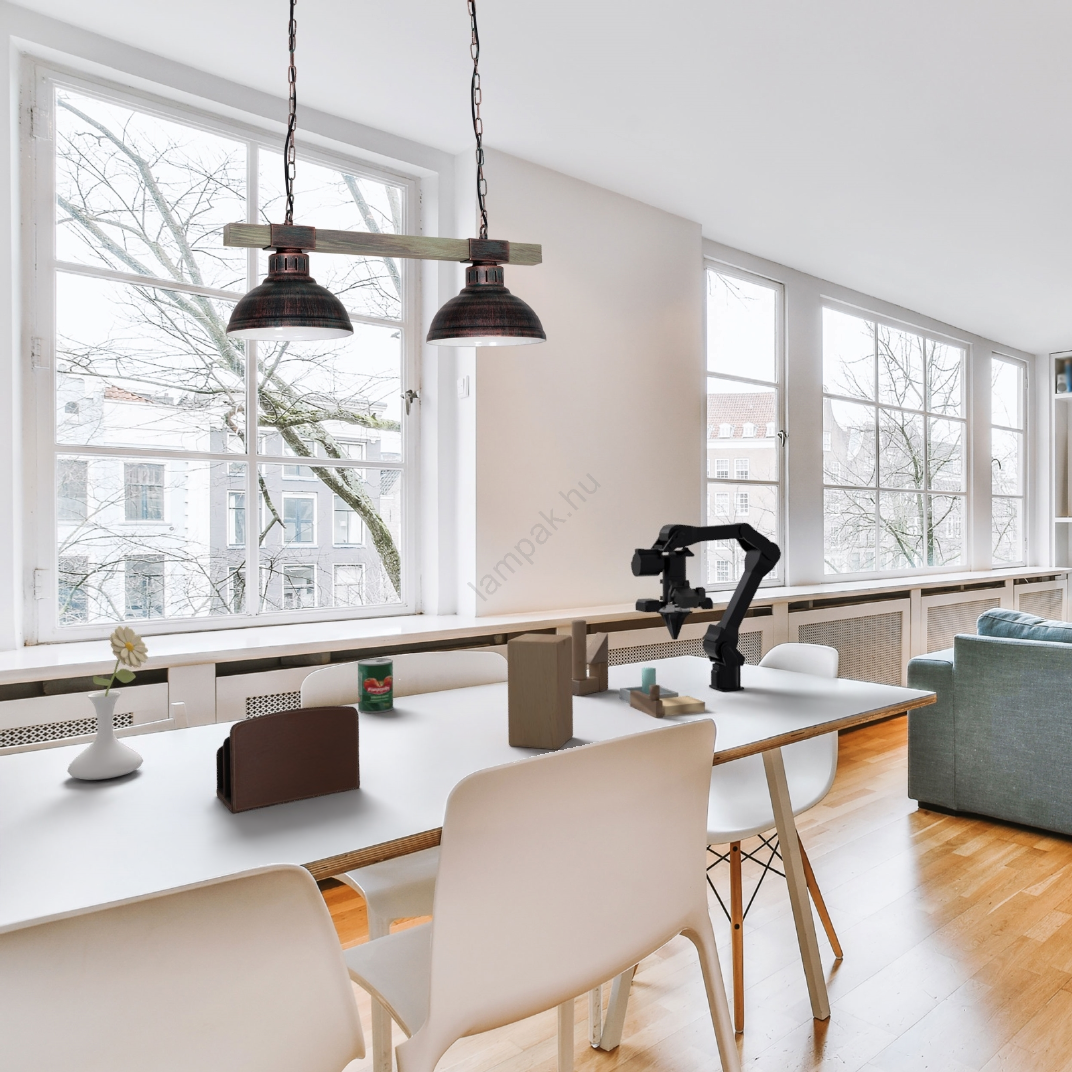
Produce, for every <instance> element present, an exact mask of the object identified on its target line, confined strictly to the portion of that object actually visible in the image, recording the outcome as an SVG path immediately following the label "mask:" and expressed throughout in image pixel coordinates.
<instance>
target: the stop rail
mask: <svg viewBox="0 0 1072 1072" xmlns="http://www.w3.org/2000/svg"><path fill="white" fill-rule="evenodd" d="M660 686H661V685H659V684H656V685H649V695H647V694H644V693H642V692H639V691H637V690H634V691H630V703H629V705H630V707H631V708H633V709H636V710H638V711H640V712H642V713H644V714H646V715H649V716H651V717H653V718H656V719H659V718H663V717H664V715H663V701H661V700H660Z"/></svg>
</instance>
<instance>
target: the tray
mask: <svg viewBox="0 0 1072 1072" xmlns="http://www.w3.org/2000/svg"><path fill="white" fill-rule="evenodd" d="M634 690H637V691H639V692H642V685H641V686H631V687H630V686H629V687H620V688H619V699H620V700H622V701H624V702H626V703H628V704H630V691H634ZM673 697H679V692H677V691H675V690H672V689H669V688H668V687H667V688H666V687H664V686H662V685H660V699H663V698H673Z"/></svg>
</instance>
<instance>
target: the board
mask: <svg viewBox="0 0 1072 1072" xmlns="http://www.w3.org/2000/svg"><path fill="white" fill-rule="evenodd" d="M660 700H661V701H663V717H667V716H678V715H686V714H695V713H705V712H706V702H705V701H704V700H700V699H697V698H694V697H692V696H690V695H689V696H688V695H684V696H678V697H673V698H663V699H660Z"/></svg>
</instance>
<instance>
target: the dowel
mask: <svg viewBox="0 0 1072 1072" xmlns="http://www.w3.org/2000/svg"><path fill="white" fill-rule="evenodd" d="M656 670H657V669H656V668H655V667H642V668H641V686H642V693H644V694H647V695H649V685H657V674H656V673H657V671H656Z"/></svg>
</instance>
